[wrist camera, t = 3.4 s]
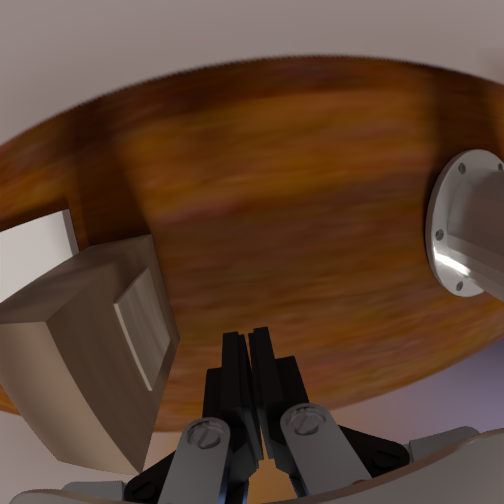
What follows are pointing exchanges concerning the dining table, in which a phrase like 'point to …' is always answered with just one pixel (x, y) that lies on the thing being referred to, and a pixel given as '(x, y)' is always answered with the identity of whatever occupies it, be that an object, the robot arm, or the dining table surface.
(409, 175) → the dining table surface
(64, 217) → the board
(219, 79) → the dining table surface
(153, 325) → the walnut block
